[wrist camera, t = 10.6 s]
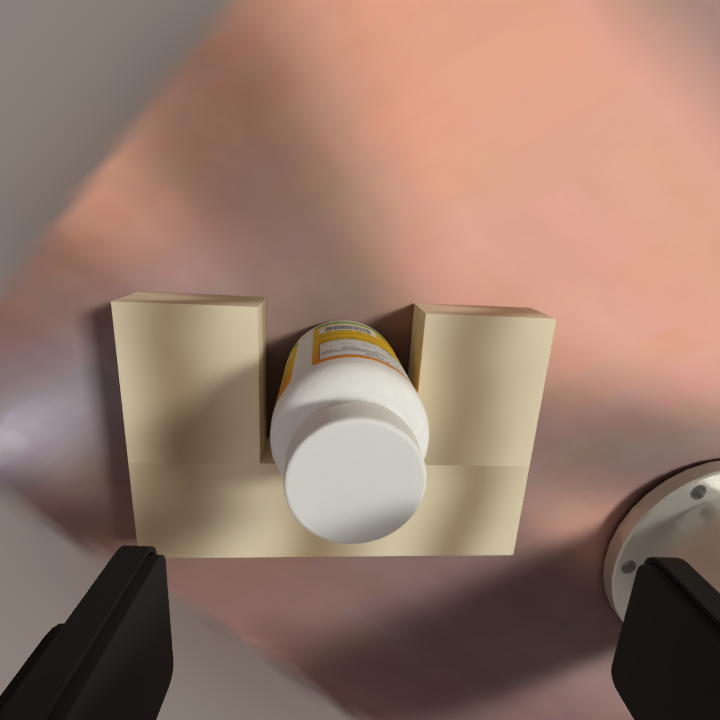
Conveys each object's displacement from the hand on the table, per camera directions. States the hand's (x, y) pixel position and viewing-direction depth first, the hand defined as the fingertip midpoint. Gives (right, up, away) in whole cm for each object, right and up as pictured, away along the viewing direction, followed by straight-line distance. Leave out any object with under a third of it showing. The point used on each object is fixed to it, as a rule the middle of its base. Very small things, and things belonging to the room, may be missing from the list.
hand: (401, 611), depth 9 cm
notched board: (-2, +2, +13) cm, 14 cm away
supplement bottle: (-2, +4, +13) cm, 14 cm away
